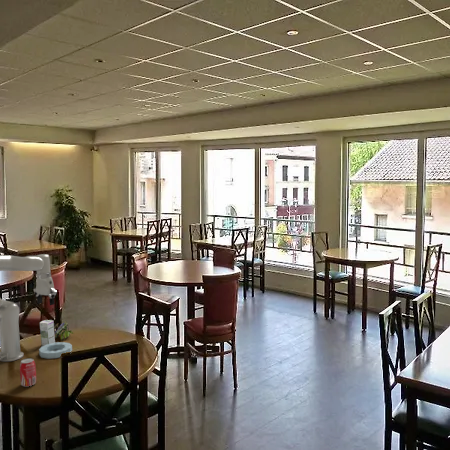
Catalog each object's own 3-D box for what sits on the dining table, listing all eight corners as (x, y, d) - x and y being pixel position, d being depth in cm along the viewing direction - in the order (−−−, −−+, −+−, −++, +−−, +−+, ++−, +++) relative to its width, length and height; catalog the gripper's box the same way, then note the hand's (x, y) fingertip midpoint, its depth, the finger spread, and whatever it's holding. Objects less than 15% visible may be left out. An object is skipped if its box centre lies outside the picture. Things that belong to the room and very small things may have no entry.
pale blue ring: (56, 360, 259) (55, 354, 259) (33, 355, 267) (32, 350, 266) (78, 349, 275) (77, 344, 274) (55, 345, 282) (55, 340, 282)
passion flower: (58, 346, 297) (54, 328, 302) (75, 340, 300) (71, 322, 305) (55, 341, 287) (51, 322, 292) (73, 335, 290) (69, 317, 295)
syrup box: (55, 343, 286) (53, 320, 284) (48, 347, 280) (47, 323, 278) (47, 342, 287) (46, 319, 286) (40, 346, 282) (39, 322, 280)
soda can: (23, 381, 232) (22, 358, 231) (38, 381, 233) (37, 357, 232) (18, 388, 225) (17, 363, 224) (34, 387, 226) (32, 362, 225)
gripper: (59, 275, 279) (61, 303, 281) (37, 273, 286) (40, 301, 288) (50, 277, 272) (52, 307, 274) (28, 275, 280) (30, 304, 282)
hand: (45, 303), depth 281 cm, fingers open, 9 cm apart
